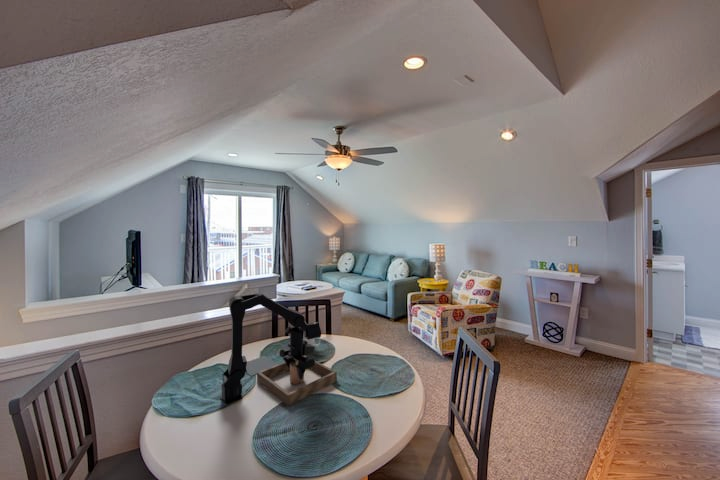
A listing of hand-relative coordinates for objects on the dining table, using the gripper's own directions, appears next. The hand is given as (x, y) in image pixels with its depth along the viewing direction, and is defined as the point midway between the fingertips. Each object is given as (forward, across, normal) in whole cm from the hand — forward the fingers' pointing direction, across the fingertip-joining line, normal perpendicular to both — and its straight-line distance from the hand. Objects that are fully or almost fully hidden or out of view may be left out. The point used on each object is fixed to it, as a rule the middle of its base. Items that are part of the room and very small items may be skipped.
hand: (296, 376), depth 130 cm
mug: (+2, +22, -23) cm, 32 cm away
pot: (+2, 0, 0) cm, 2 cm away
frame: (+2, 0, 0) cm, 2 cm away
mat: (+2, +25, +5) cm, 26 cm away
